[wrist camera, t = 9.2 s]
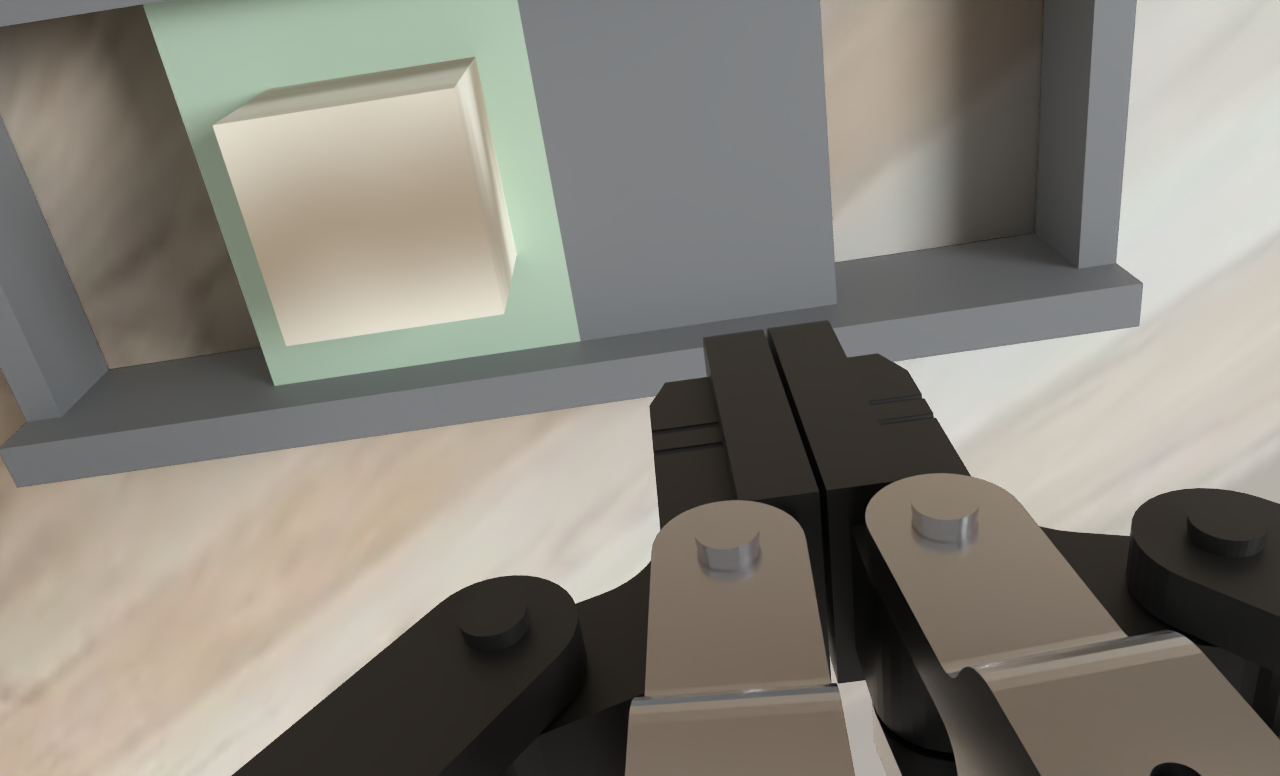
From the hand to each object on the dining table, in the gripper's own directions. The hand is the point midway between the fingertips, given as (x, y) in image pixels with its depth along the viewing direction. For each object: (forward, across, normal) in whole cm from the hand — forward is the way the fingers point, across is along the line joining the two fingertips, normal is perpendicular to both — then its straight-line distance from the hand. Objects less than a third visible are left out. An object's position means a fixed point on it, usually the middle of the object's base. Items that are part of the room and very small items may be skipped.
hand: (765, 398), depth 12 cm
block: (+14, +7, 0) cm, 16 cm away
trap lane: (+17, +4, 0) cm, 18 cm away
